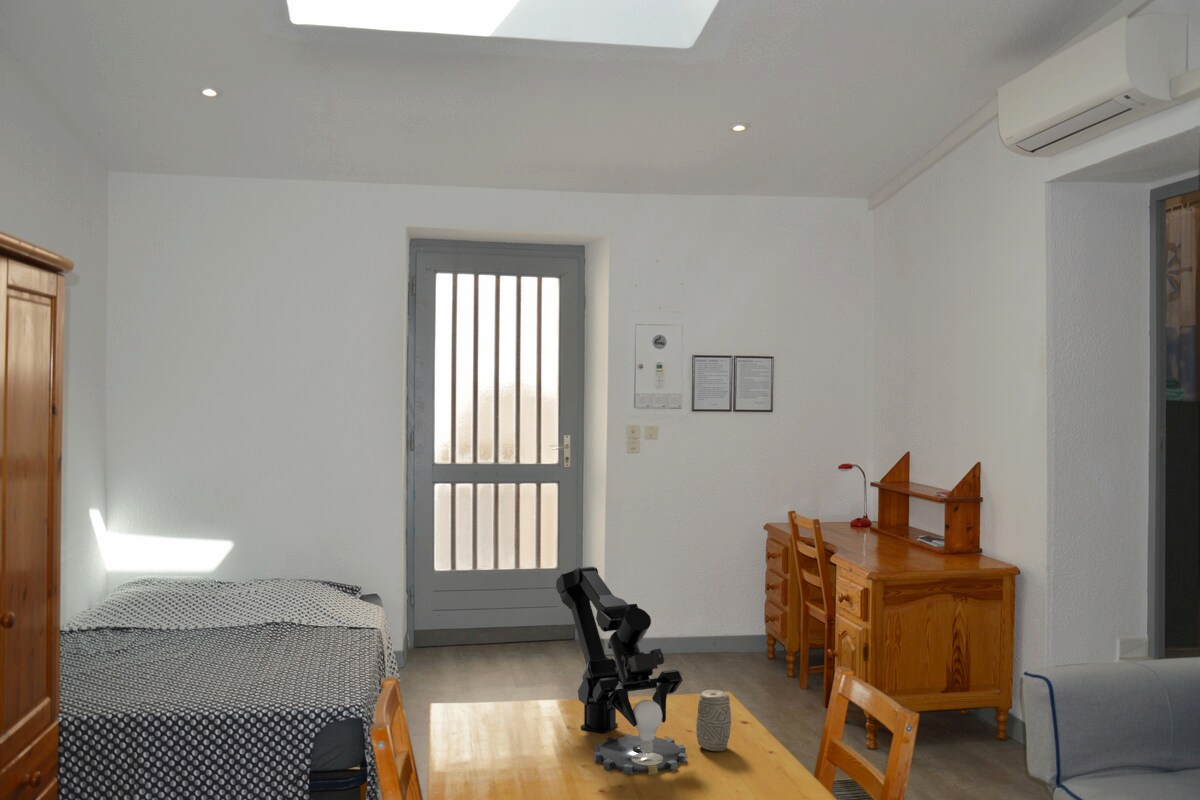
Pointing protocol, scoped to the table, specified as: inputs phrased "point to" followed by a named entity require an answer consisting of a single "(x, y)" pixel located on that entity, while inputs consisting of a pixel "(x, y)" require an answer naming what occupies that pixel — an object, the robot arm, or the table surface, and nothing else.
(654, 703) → the lightbulb
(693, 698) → the table surface
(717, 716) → the carving
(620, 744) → the sprocket plate
